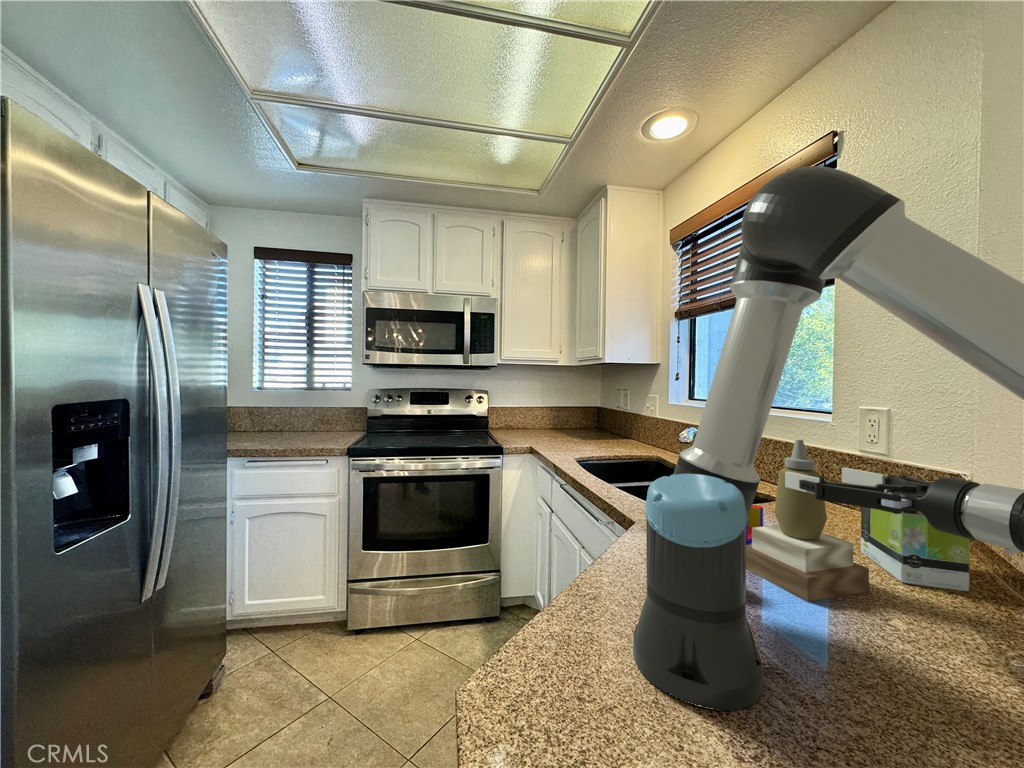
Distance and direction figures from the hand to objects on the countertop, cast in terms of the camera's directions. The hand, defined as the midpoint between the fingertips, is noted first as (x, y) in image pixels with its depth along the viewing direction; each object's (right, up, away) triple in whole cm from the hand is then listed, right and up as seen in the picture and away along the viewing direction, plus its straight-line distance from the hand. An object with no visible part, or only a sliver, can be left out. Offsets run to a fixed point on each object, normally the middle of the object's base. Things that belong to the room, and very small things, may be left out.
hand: (815, 476), depth 72 cm
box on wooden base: (-1, -20, +2) cm, 20 cm away
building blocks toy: (-8, -20, +24) cm, 33 cm away
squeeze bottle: (-1, -12, +2) cm, 12 cm away
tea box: (+23, -20, +6) cm, 31 cm away
